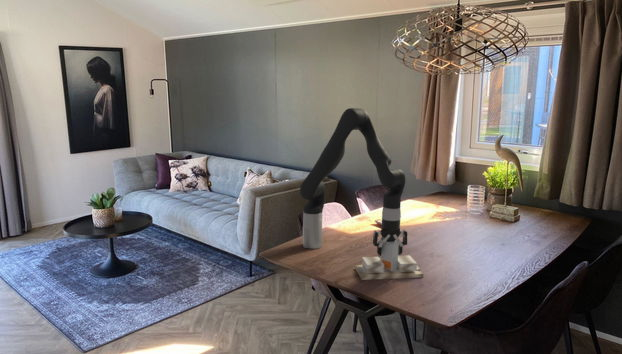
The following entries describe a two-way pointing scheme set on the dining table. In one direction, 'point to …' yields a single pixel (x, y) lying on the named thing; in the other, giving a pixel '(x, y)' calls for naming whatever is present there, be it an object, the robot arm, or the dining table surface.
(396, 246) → the skincare box
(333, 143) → the robot arm
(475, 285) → the dining table surface
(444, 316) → the dining table surface
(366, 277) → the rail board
